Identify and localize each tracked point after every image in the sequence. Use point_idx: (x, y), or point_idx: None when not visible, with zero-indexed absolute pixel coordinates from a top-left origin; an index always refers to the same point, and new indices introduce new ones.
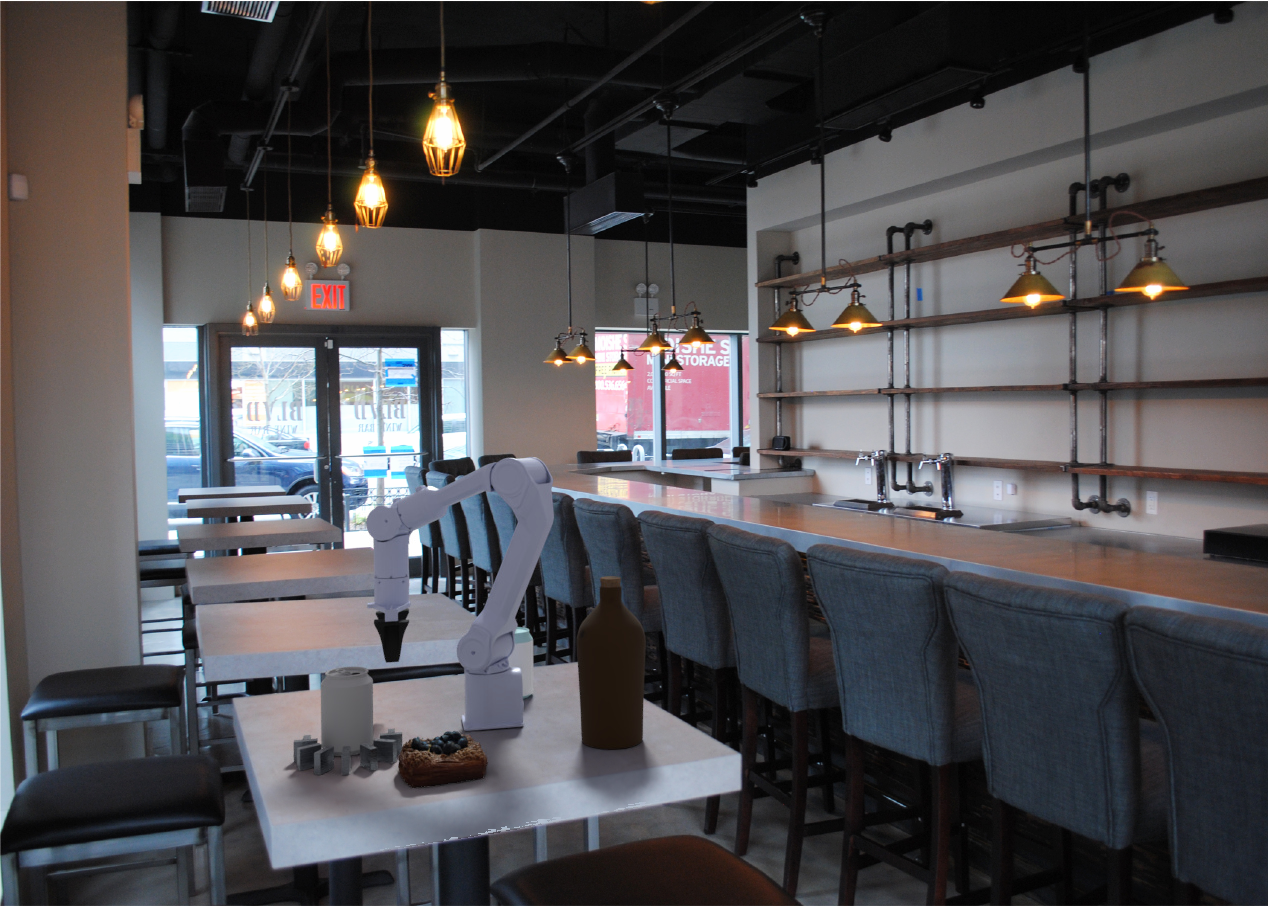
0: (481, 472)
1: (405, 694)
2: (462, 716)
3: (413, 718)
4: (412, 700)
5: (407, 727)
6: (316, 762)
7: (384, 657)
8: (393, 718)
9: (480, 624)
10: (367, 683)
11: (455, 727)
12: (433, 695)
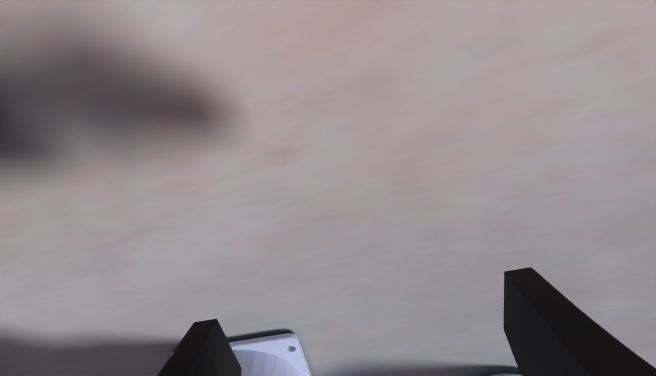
0: None
1: (648, 130)
2: (278, 341)
3: (303, 217)
4: (542, 172)
5: (201, 219)
6: None
7: (180, 344)
8: (306, 157)
9: None
10: None
11: None
12: (587, 225)
